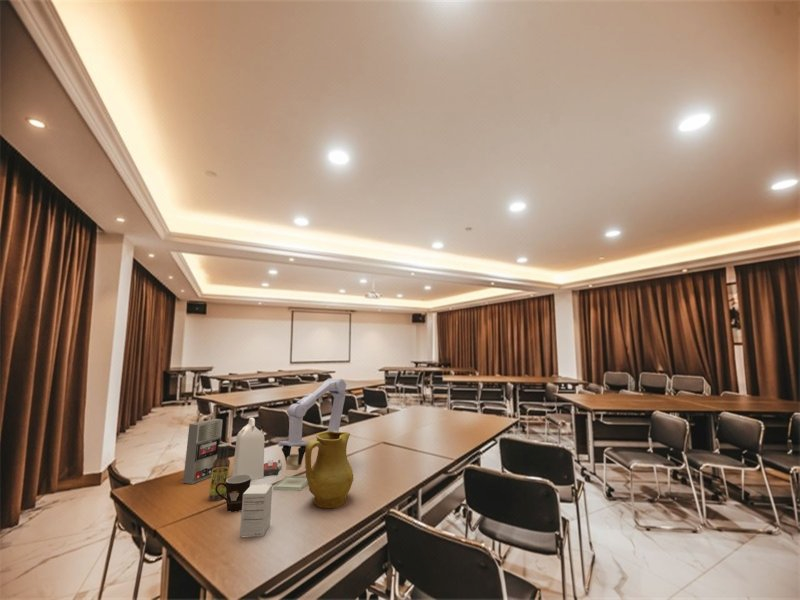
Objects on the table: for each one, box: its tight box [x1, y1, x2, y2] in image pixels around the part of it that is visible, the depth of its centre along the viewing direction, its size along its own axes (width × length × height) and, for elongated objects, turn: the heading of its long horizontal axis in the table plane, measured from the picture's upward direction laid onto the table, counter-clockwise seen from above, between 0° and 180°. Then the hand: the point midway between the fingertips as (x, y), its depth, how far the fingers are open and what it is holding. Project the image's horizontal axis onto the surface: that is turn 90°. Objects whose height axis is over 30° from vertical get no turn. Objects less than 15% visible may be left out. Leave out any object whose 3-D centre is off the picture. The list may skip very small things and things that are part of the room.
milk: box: [231, 417, 265, 481], centre depth 152 cm, size 12×12×26 cm
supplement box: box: [239, 483, 273, 538], centre depth 104 cm, size 7×7×13 cm
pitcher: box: [304, 430, 354, 509], centre depth 126 cm, size 17×19×25 cm
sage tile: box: [272, 475, 308, 491], centre depth 141 cm, size 12×12×1 cm
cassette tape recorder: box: [182, 418, 223, 485], centre depth 150 cm, size 14×6×25 cm, turn 161°
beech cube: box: [285, 453, 303, 471], centre depth 143 cm, size 5×5×5 cm
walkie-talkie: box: [264, 459, 283, 477], centre depth 160 cm, size 9×4×20 cm
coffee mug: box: [215, 475, 252, 513], centre depth 120 cm, size 12×9×10 cm
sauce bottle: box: [208, 443, 231, 501], centre depth 129 cm, size 6×6×20 cm
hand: (293, 463), depth 142 cm, fingers closed on beech cube, 5 cm apart
